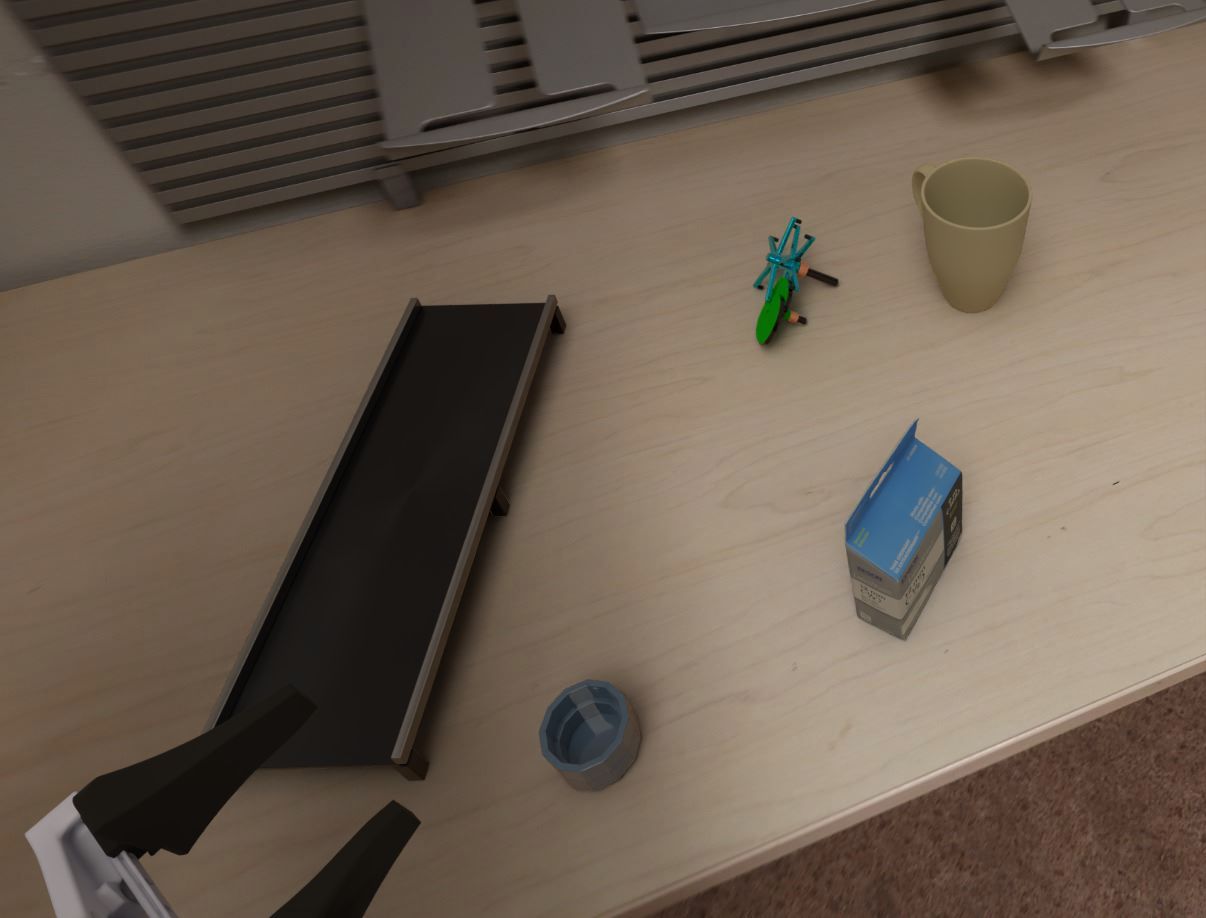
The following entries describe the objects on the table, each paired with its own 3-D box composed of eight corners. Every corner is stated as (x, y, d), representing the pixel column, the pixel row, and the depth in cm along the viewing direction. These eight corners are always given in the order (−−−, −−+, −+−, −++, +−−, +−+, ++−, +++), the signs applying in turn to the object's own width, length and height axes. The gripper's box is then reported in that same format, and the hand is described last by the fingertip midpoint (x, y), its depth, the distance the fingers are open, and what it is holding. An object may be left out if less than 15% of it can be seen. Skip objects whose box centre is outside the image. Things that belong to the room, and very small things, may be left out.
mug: (1029, 259, 87) (1041, 158, 79) (1012, 339, 80) (1023, 237, 72) (915, 240, 89) (914, 139, 81) (888, 316, 82) (885, 215, 74)
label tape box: (904, 645, 62) (901, 554, 53) (851, 615, 63) (840, 522, 54) (963, 536, 67) (970, 438, 58) (913, 512, 69) (912, 412, 60)
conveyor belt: (426, 780, 56) (400, 758, 53) (222, 785, 56) (185, 763, 53) (567, 325, 82) (555, 294, 79) (428, 328, 82) (410, 297, 79)
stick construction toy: (756, 232, 87) (795, 199, 81) (822, 258, 90) (864, 228, 84) (731, 352, 81) (771, 326, 75) (802, 375, 84) (846, 352, 78)
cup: (596, 812, 55) (578, 791, 52) (540, 757, 57) (521, 734, 54) (658, 737, 58) (645, 713, 55) (603, 688, 60) (588, 663, 57)
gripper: (-1, 1307, 26) (422, 846, 34) (-180, 934, 32) (214, 612, 40) (147, 1279, 31) (485, 884, 39) (-31, 961, 37) (293, 672, 45)
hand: (353, 750), depth 40 cm, fingers open, 7 cm apart
